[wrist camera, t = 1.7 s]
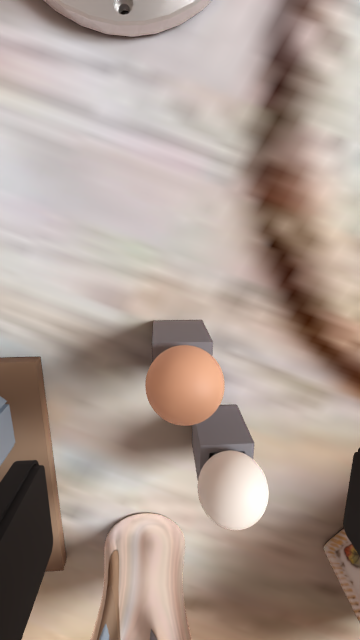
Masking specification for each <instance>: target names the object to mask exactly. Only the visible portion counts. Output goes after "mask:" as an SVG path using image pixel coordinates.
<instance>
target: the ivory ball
mask: <svg viewBox="0 0 360 640" xmlns="http://www.w3.org/2000/svg"><path fill="white" fill-rule="evenodd" d="M198 496H199V500H200V503H201V505H202V508H203V509H204V511H205V513H206V514H207V515H208V517H209V518H210V519H211V520H212V521H213V522H215V523H216V524H217V525H219V526H221V527H223V528H226V529H229V530H242V529H246V528H248V527H250V526H252V525H254V524H255V523H256V522H257V521H258V520H259V519H260V518H261V517H262V515H263V514H264V512H265V509H266V507H267V503H268V497H269V490H268V484H267V480H266V477H265V475H264V473H263V471H262V469H261V468H260V466H259V465H258V464H257V463H256V462H255V461H254V460H253V459H252V458H251V457H249V456H248V455H246V454H244V453H242V452H238V451H233V450H228V451H222V452H219V453H217V454H215V455H213V456H212V457H211V458H210V459H208V461H207V462H206V463H205V464H204V466H203V467H202V469H201V472H200V475H199V478H198Z"/></svg>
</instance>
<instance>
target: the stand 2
mask: <svg viewBox="0 0 360 640" xmlns="http://www.w3.org/2000/svg"><path fill="white" fill-rule="evenodd" d="M192 447H193V453H194V459H195V466H196V472H197V478H199V475H200V472H201V469H202V467H203V466H204V464H205V463H206V462H207V461H208V459H210V458H211V457H212V456H213V455H215V454H217V453H219V452H222V451H228V450H233V451H238V452H242V453H244V454H246V455H248V456H249V457H251V458H252V459H253V454H254V441H253V439H252V437H251V435H250V433H249V430H248V428H247V426H246V424H245V422H244V419H243V417H242V415H241V413H240V411H239V408H238V406H237V405H219V407H218V408H217V410H216V411H215V412H214V413H213V414H212V415H211V416H210V417H209V418H208V419H206V420H204V421H203V422H200V423H198V424H195V425H192Z"/></svg>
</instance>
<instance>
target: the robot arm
mask: <svg viewBox="0 0 360 640" xmlns="http://www.w3.org/2000/svg"><path fill="white" fill-rule="evenodd" d="M43 1H45V2H46V3H47V4H48V5H49V6H50V7H52V8H53V9H54V10H55V11H56V12H58V13H60V14H62V15H63V16H65V17H67V18H69V19H70V20H72V21H74V22H76V23H77V24H79V25H81V26H84V27H87V28H90V29H93V30H96V31H99V32H102V33H105V34H111V35H121V36H131V37H133V36H141V35H149V34H156V33H159V32H162V31H165V30H167V29H170V28H173V27H175V26H178V25H181V24H182V23H184V22H185V21H187V20H188V19H190V18H191V17H193V16H194V15H196V14H197V13H199V12H200V11H202V10H203V9H204V8H205V7H206V6H207V5H208V4H209V3H210V2H211V1H212V0H43ZM124 10H126V11H128V12H129V14H125V15H123V14H120V13H121V12H122V11H124ZM343 525H344V530H345V533H346V535H347V537H348V539H349V540H350V542H351V543H352V545H353V547H354V548H355V550H356V551H357V553H358V554H359V556H360V448H359V449H358V452H355V454H354V456H353V463H352V469H351V476H350V482H349V488H348V495H347V501H346V508H345V514H344V521H343ZM52 548H53V532H52V524H51V516H50V508H49V500H48V491H47V483H46V475H45V468H44V466H43V465H39V463H38V461H37V460H24V461H15V462H14V463H13V464H12V466H11V467H10V469H9V470H8V472H7V473H6V475H5V476H4V478H3V479H2V481H1V482H0V640H21V639H22V636H23V633H24V630H25V627H26V624H27V622H28V619H29V616H30V613H31V610H32V607H33V604H34V602H35V599H36V596H37V593H38V590H39V587H40V584H41V582H42V579H43V576H44V573H45V570H46V567H47V564H48V562H49V559H50V556H51V553H52Z"/></svg>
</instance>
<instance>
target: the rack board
mask: <svg viewBox="0 0 360 640" xmlns="http://www.w3.org/2000/svg"><path fill="white" fill-rule="evenodd" d="M0 396H1V397H2V398H4V399H5V400H6V401H7V402H6V403H5V404H9V406H10V412H11V418H12V424H13V430H14V437H15V444H14V447H13V448H12V450H11V451H10V453H9V454H8V455H7V457H6V458H5V460H4V461H3V463H2V464H1V466H0V482H1V481H2V479H3V478H4V476H5V475H6V473H7V472H8V470H9V469H10V467H11V466H12V464H13V463H14V462H15V461H24V460H37V461H38V463H39V465H43V466H44V468H45V475H46V483H47V491H48V500H49V508H50V516H51V524H52V532H53V548H52V553H51V556H50V559H49V562H48V564H47V567H46V570H45V571H60V570H64V566H65V563H66V552H65V544H64V536H63V528H62V521H61V513H60V505H59V497H58V490H57V482H56V474H55V466H54V459H53V451H52V443H51V435H50V428H49V420H48V412H47V404H46V397H45V389H44V381H43V373H42V365H41V358H40V357H10V358H0Z"/></svg>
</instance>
